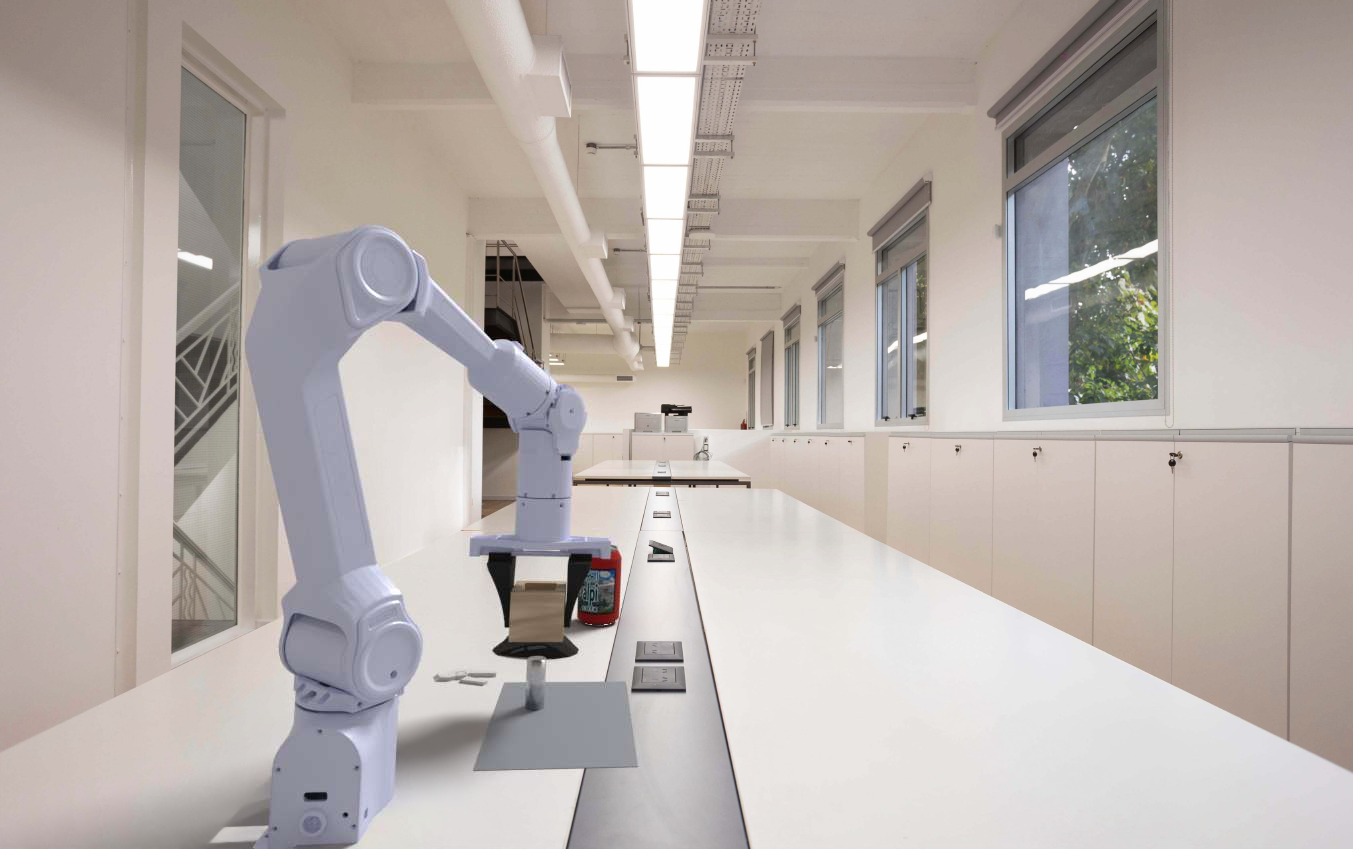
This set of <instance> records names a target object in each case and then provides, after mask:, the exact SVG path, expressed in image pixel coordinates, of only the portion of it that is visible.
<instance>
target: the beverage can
mask: <svg viewBox="0 0 1353 849" xmlns="http://www.w3.org/2000/svg"><path fill="white" fill-rule="evenodd" d="M622 562H623V561H622V555H621V553H620V550H619V547H618V546H617V545H613V544H611V554H610V559H601V558H600V557H592V566H591V569H590V571H589V573H588V575H587V577H586V579H585V581H584V583H583V585H582V587H581V590H580V592H579V594H578V597H577V607H576V612H577V613H576V618H577V619H578V620H579V621H581V622H582V623H583V622H584V623H587V624H592V625H604V624H610V623H612V624H614V622H616V621H617V620H618V619H619V618H620V606H621V586H622V584H621V582H622ZM584 623H583V624H584ZM610 625H611V624H610Z"/></svg>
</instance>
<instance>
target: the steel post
mask: <svg viewBox="0 0 1353 849" xmlns="http://www.w3.org/2000/svg"><path fill="white" fill-rule="evenodd" d="M546 669H547V659H546V658H545V657H543V656H532V657H529V658H526V670H525V671H526V672H525V674H526V675H525V676H526V677H525V682H526V693H525V709H527V710H530V711H538V710H541V709H543V708H544V700H545V682H546V675H547V674H546V673H547V670H546Z"/></svg>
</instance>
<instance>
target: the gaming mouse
mask: <svg viewBox="0 0 1353 849" xmlns="http://www.w3.org/2000/svg"><path fill="white" fill-rule="evenodd" d="M579 650H580V649H579V648H578V647H577V646H576V645H575V644H574V643H573V641H571V640H570V639H569V638H568V637H567V636H566V635H565V634H564V636H563V642H509V634H508V635H507V636H506V637H505V639H504V640H502V641H501V642H500V643H498V644H497V645H496V646H494V647H493V648H492V649H491V651H492V653H493V654H495V655H497V656H500V657H509V658H525V659H527V658H529V657H532V656H543V657H545V658H546V660H547V659H549V660H558V659H565V658H566V659H567V658H571V657H573V656H576V655H578V653H579Z"/></svg>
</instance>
